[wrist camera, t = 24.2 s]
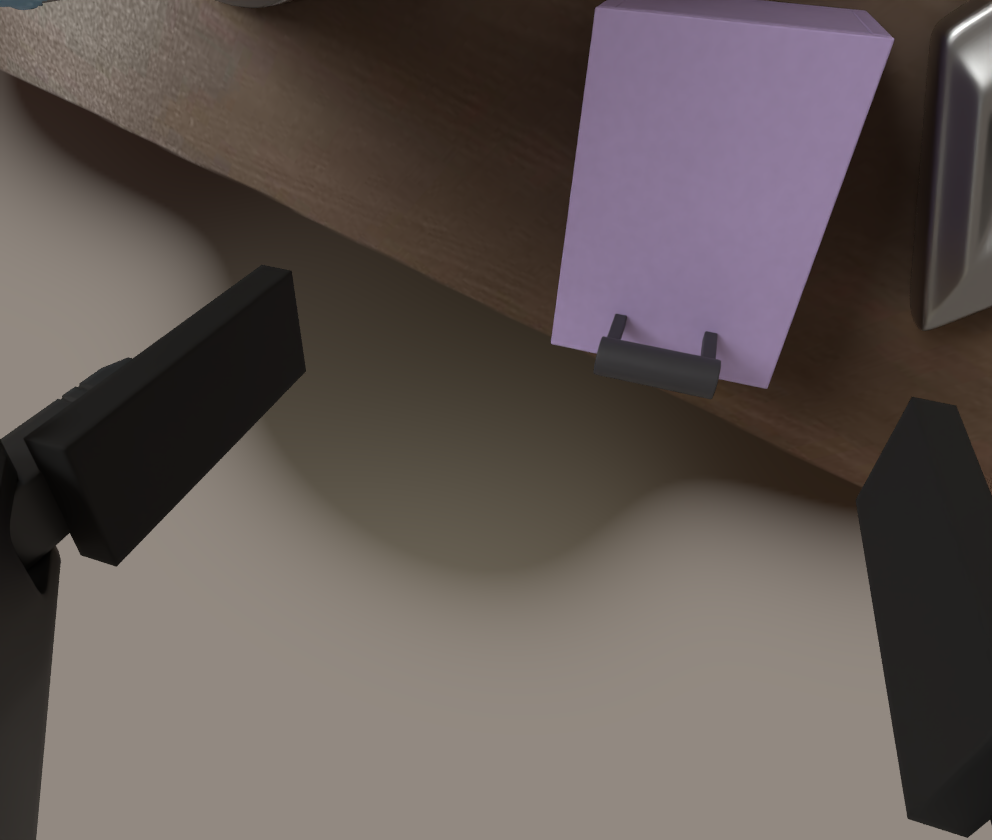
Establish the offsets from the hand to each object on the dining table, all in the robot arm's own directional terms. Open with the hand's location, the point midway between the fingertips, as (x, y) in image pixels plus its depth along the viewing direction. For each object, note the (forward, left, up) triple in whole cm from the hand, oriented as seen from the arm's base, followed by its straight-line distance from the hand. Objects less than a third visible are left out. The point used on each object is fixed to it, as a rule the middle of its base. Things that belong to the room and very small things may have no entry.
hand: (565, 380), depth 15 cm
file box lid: (+2, -4, -23) cm, 24 cm away
